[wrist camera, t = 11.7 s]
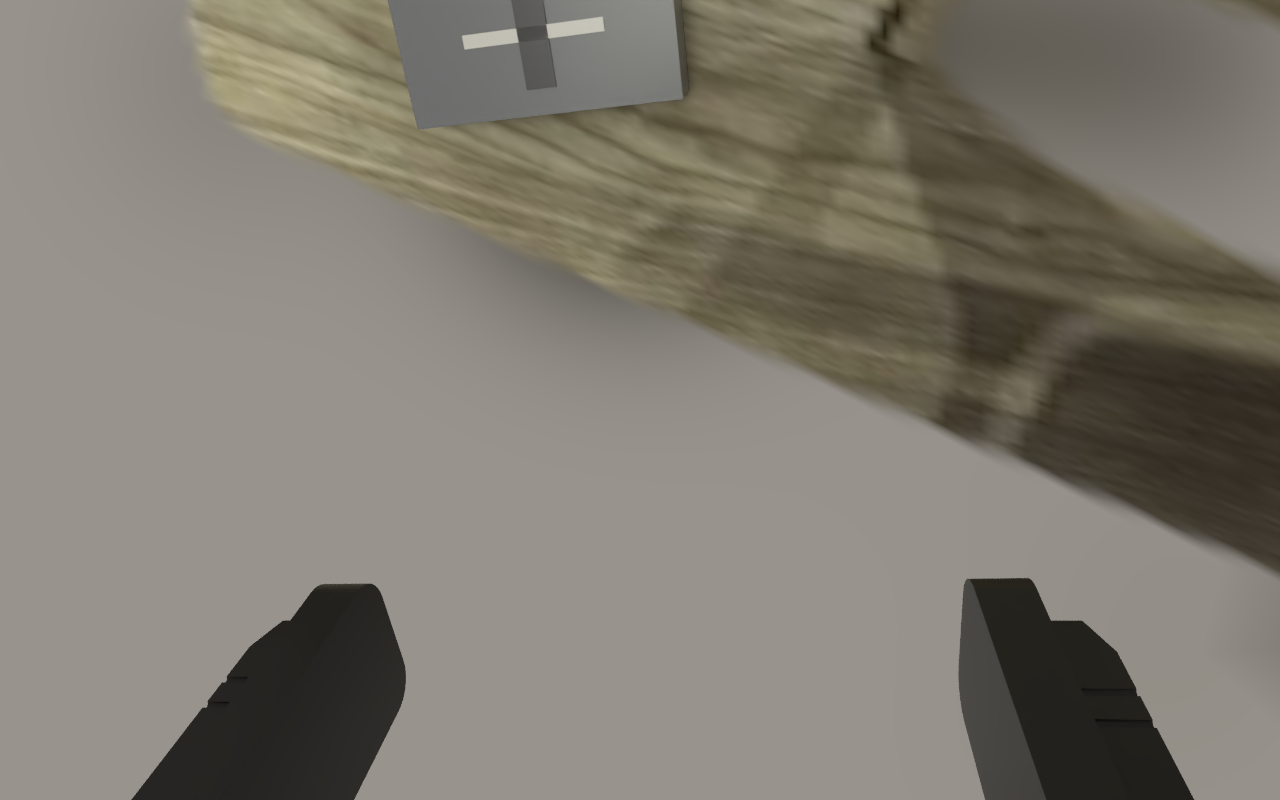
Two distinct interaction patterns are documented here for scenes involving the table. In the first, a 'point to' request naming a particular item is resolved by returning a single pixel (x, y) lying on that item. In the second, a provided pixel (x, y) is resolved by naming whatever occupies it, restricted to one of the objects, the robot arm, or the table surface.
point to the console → (537, 56)
